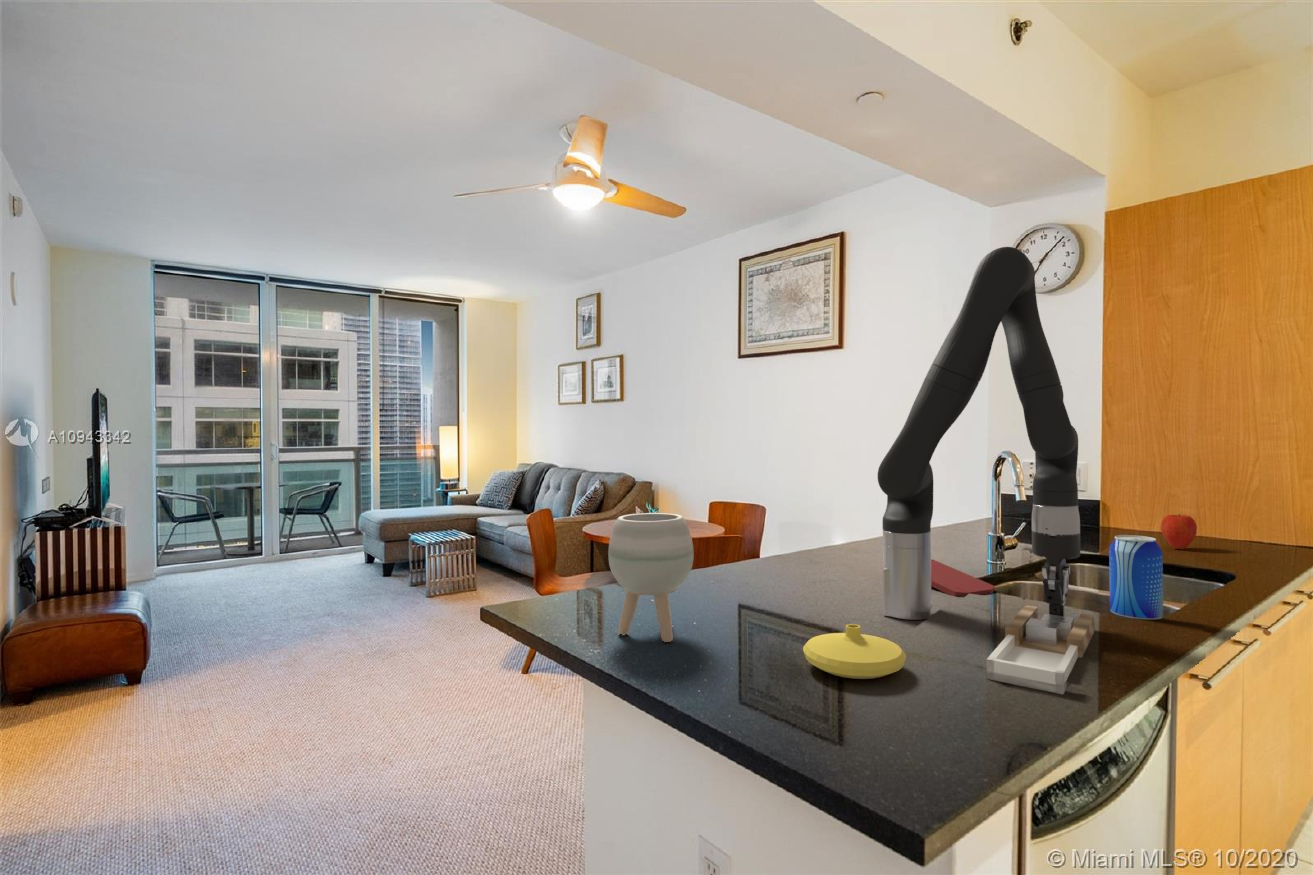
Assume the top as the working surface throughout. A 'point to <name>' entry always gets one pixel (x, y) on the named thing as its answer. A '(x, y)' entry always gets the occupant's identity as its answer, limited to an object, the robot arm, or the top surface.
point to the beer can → (1136, 577)
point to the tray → (1031, 666)
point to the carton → (956, 581)
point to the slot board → (1077, 636)
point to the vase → (854, 654)
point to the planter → (650, 562)
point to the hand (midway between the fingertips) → (1056, 624)
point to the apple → (1179, 530)
